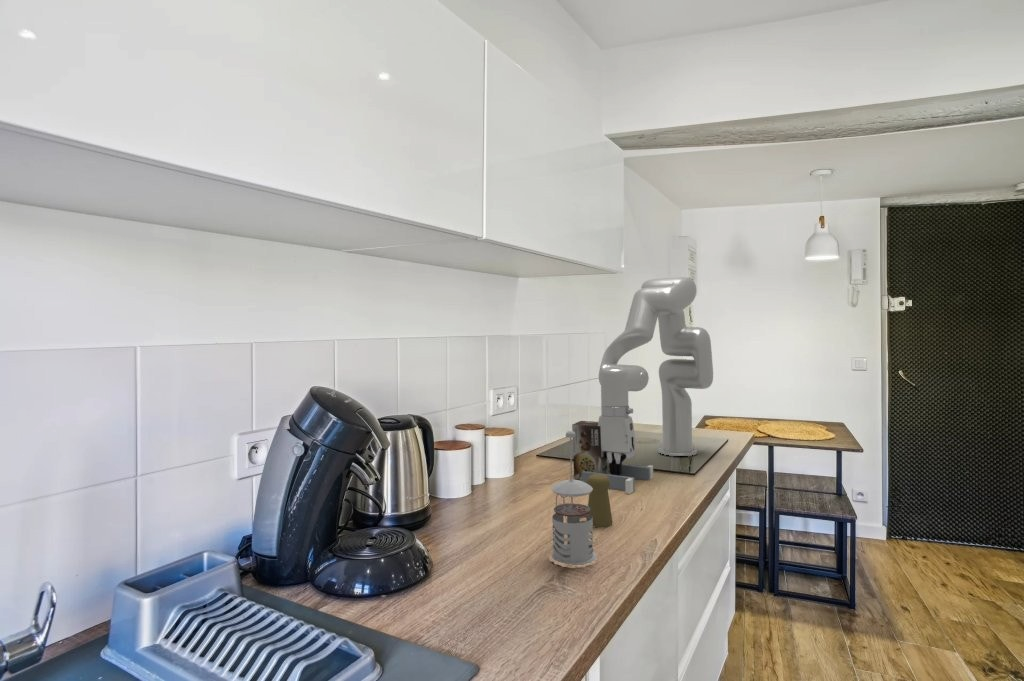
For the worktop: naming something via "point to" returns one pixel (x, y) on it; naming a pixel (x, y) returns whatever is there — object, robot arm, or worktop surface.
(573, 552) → the french press
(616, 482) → the pair of grey bars
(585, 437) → the coffee box
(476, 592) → the worktop surface
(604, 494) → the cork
